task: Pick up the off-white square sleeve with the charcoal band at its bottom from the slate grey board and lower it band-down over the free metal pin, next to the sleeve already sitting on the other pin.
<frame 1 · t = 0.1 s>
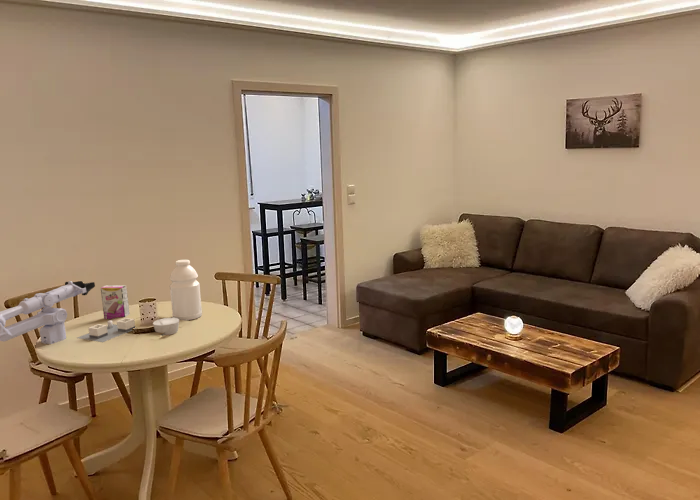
hand: (88, 283, 261), 22 cm above the table, tool horizontal, fingers open, 7 cm apart
bottle: (187, 317, 279), on the table
seated sleeve: (126, 329, 257), point 1 cm above the table, touching pin board
sleeve: (98, 336, 249), point 1 cm above the table, touching pin board
candy bar box: (117, 319, 280), on the table
pin board: (108, 335, 254), on the table
ramekin: (167, 332, 256), on the table
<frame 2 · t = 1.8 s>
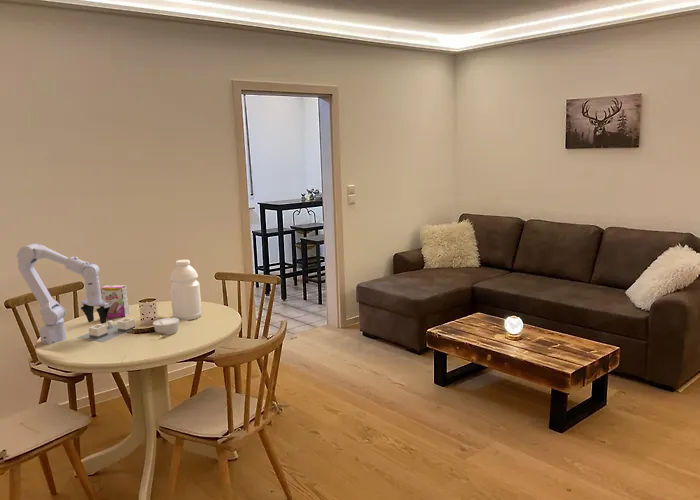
hand: (97, 322, 248), 8 cm above the table, tool pointing down, fingers open, 7 cm apart
nothing on the table moved.
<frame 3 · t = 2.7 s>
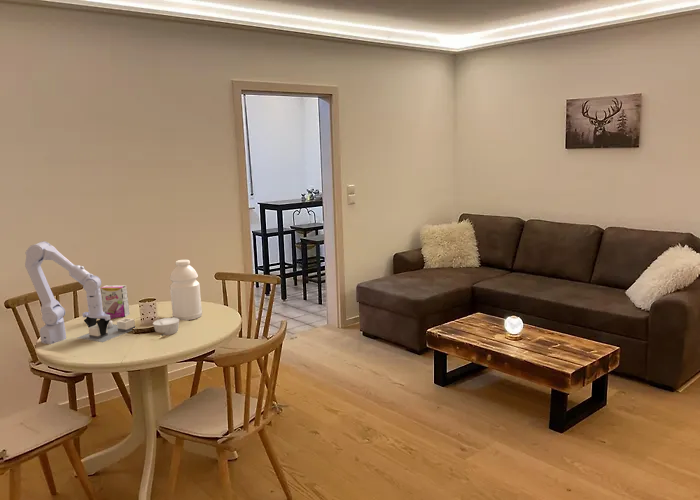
hand: (98, 334, 249), 2 cm above the table, tool pointing down, fingers closed on sleeve, 5 cm apart
sleeve: (98, 336, 249), point 2 cm above the table, touching gripper, pin board
everything else where it was.
when the fingers open (4 cm above the table, at t = 6.7 s): sleeve drops 2 cm, resting on pin board.
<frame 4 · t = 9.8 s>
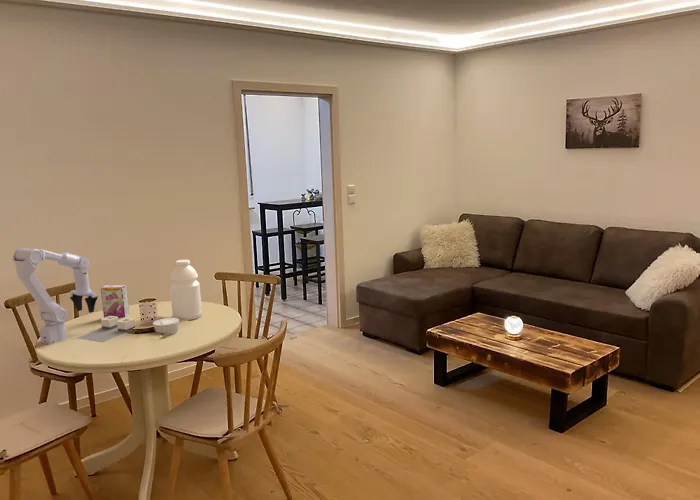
hand: (85, 311, 260), 9 cm above the table, tool pointing down, fingers open, 7 cm apart
sleeve: (110, 327, 261), point 1 cm above the table, touching pin board
everything else where it was.
at the end: sleeve 0.0 cm from the target spot, point 1.5 cm above the table; sleeve tilted 0°; seated sleeve moved 0.0 cm from its start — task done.
